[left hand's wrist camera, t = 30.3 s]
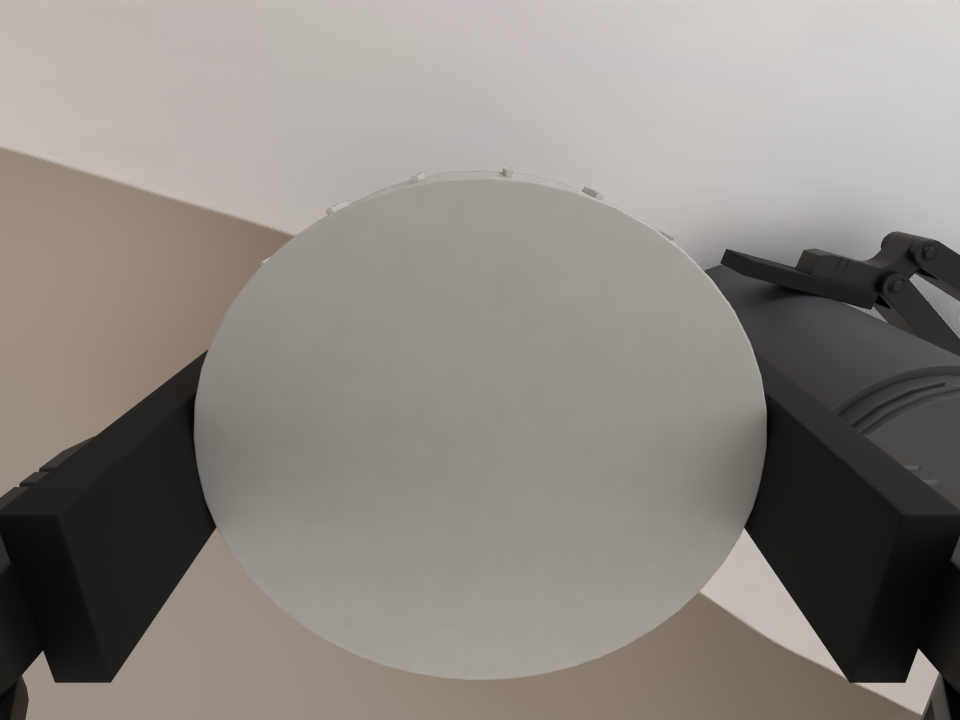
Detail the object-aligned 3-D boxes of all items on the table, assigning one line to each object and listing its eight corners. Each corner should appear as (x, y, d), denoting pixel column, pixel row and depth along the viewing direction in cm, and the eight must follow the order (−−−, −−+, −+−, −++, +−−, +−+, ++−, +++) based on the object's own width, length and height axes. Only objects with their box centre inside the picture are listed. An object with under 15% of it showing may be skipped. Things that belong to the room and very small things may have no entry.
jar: (659, 265, 34) (832, 387, 17) (815, 260, 34) (1136, 379, 17) (647, 404, 37) (781, 617, 21) (788, 400, 37) (1036, 612, 21)
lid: (477, 680, 14) (476, 751, 13) (130, 419, 12) (72, 466, 10) (826, 433, 12) (884, 481, 10) (485, 29, 9) (486, 4, 7)
